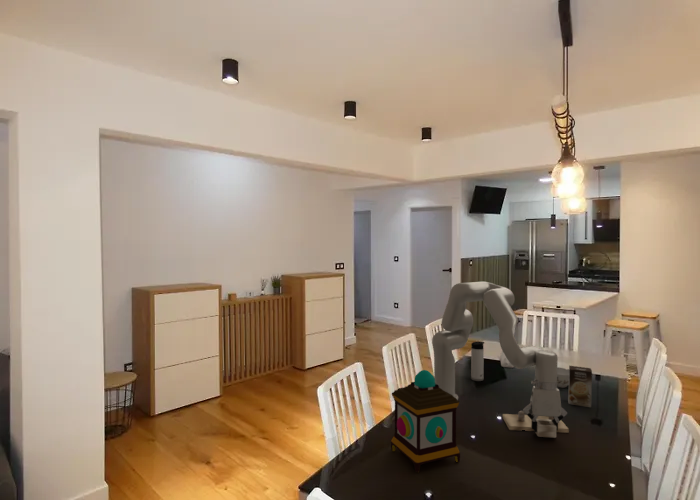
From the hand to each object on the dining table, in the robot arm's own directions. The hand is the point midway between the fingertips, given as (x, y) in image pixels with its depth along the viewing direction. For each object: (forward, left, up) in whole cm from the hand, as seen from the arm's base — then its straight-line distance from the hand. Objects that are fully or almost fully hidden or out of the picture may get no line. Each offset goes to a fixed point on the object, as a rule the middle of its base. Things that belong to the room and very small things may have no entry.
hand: (544, 430), depth 167 cm
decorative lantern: (-46, -20, -3) cm, 50 cm away
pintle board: (-1, +11, -2) cm, 11 cm away
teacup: (+26, +62, -3) cm, 67 cm away
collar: (0, 0, -1) cm, 1 cm away
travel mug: (-14, +67, -2) cm, 68 cm away
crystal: (+9, +101, -3) cm, 101 cm away
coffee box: (+26, +37, -2) cm, 45 cm away
